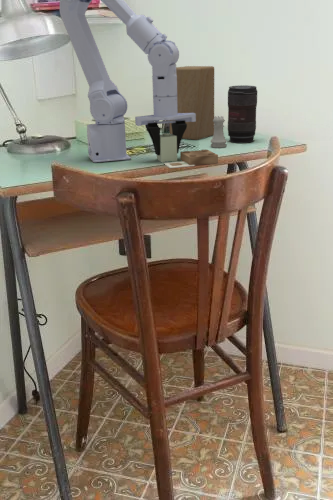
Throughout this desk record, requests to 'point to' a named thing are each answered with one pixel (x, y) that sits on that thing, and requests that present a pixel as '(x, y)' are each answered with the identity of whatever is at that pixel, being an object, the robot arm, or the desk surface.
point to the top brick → (168, 148)
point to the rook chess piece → (218, 133)
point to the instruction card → (177, 164)
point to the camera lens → (242, 113)
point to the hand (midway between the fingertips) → (166, 153)
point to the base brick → (199, 157)
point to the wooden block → (196, 99)
